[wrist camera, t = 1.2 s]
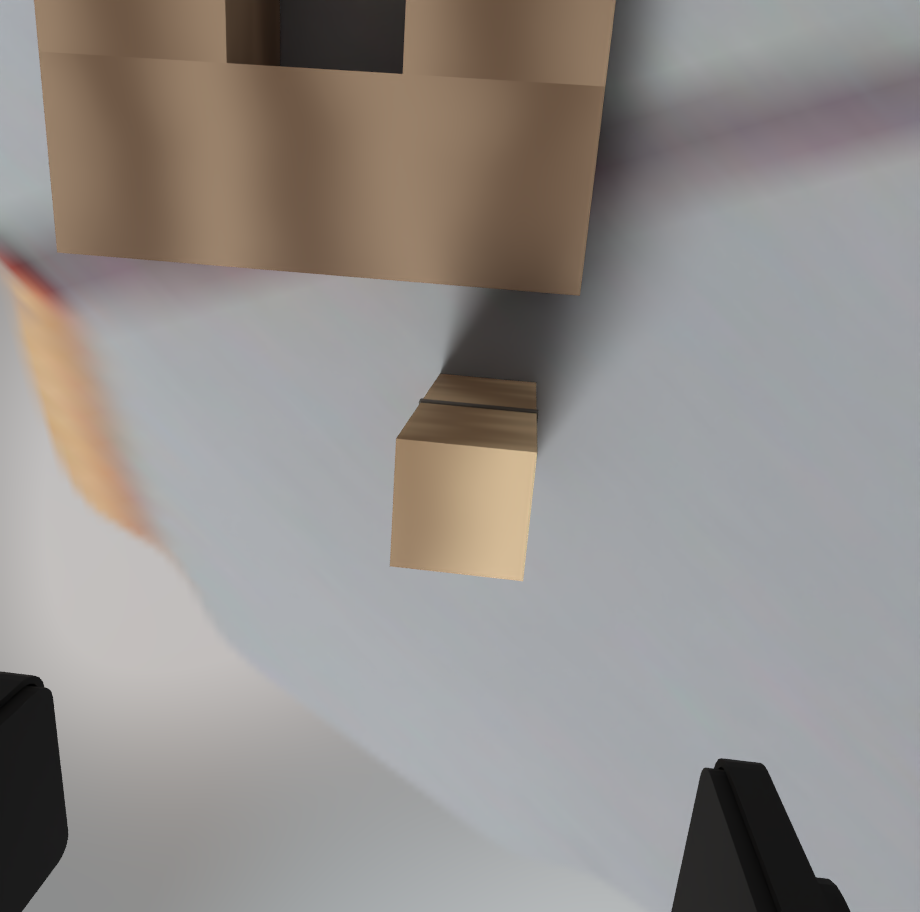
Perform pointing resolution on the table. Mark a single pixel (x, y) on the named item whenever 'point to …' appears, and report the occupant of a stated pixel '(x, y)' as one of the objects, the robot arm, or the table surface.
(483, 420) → the peg
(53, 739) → the robot arm
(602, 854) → the table surface
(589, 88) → the board
